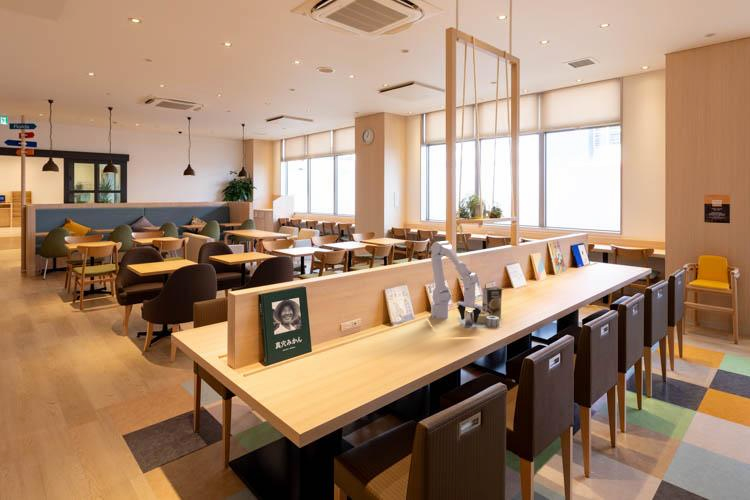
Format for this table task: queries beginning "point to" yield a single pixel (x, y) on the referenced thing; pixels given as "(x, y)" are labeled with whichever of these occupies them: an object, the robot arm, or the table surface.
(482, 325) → the fitting board
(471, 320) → the metal cylinder
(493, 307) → the coffee box
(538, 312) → the table surface
